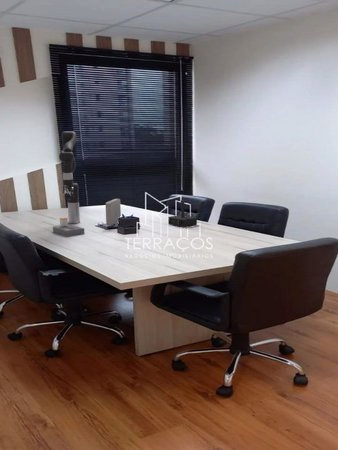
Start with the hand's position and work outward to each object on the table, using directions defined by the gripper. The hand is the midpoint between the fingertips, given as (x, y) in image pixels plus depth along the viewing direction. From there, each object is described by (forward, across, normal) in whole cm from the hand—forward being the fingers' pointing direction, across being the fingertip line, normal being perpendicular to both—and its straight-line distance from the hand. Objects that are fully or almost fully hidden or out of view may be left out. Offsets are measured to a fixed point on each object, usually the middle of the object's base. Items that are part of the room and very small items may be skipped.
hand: (69, 199), depth 322 cm
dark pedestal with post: (+24, -45, -76) cm, 91 cm away
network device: (+24, -6, -35) cm, 43 cm away
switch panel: (+23, -9, +7) cm, 26 cm away
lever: (+19, -2, +7) cm, 20 cm away
